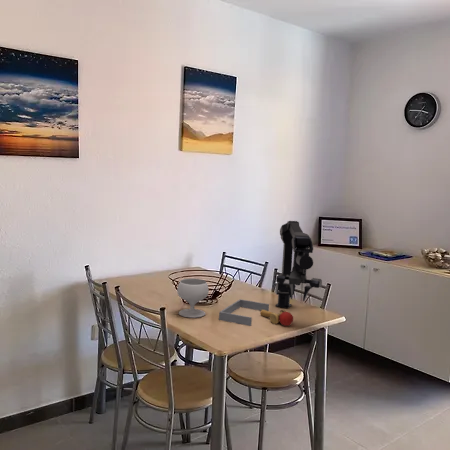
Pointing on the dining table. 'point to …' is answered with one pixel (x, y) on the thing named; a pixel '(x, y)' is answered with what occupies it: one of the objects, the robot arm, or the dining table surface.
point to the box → (227, 316)
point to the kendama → (279, 317)
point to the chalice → (192, 295)
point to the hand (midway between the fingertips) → (297, 300)
